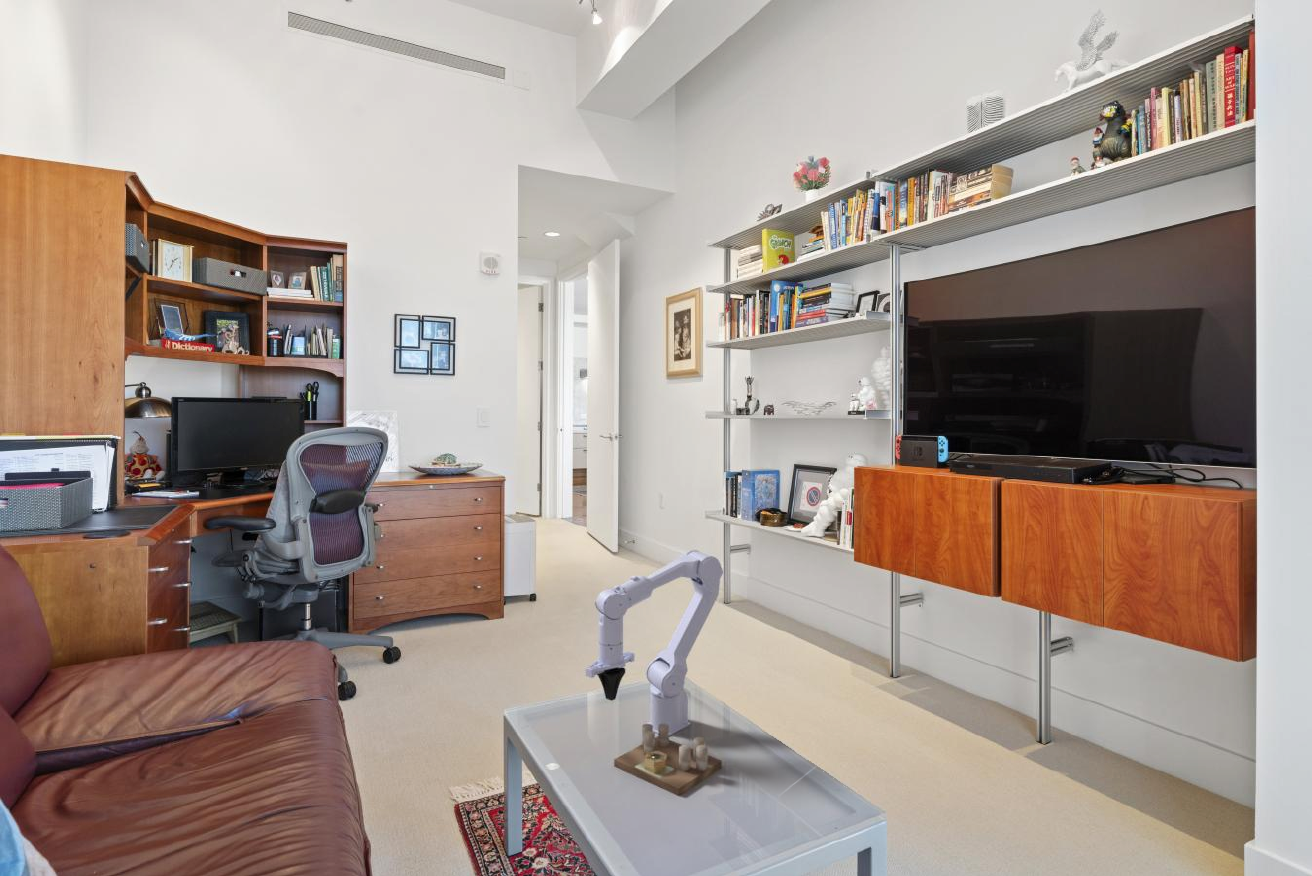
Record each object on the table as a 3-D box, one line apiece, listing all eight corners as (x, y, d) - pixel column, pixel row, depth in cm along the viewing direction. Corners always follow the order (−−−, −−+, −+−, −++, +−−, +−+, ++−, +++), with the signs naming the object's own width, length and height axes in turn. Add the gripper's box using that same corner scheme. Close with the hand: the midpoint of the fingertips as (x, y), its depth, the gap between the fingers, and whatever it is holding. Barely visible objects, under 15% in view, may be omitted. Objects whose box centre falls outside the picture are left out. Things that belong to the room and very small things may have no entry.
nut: (653, 759, 152) (653, 748, 152) (671, 767, 149) (671, 756, 149) (640, 767, 149) (640, 756, 149) (658, 775, 145) (658, 764, 145)
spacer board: (658, 741, 164) (658, 716, 163) (721, 767, 152) (721, 740, 152) (614, 766, 152) (614, 739, 152) (678, 795, 141) (678, 766, 140)
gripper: (601, 653, 157) (601, 713, 157) (643, 638, 168) (643, 694, 168) (579, 646, 161) (579, 704, 162) (622, 632, 172) (622, 686, 173)
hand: (610, 698), depth 165 cm, fingers closed
